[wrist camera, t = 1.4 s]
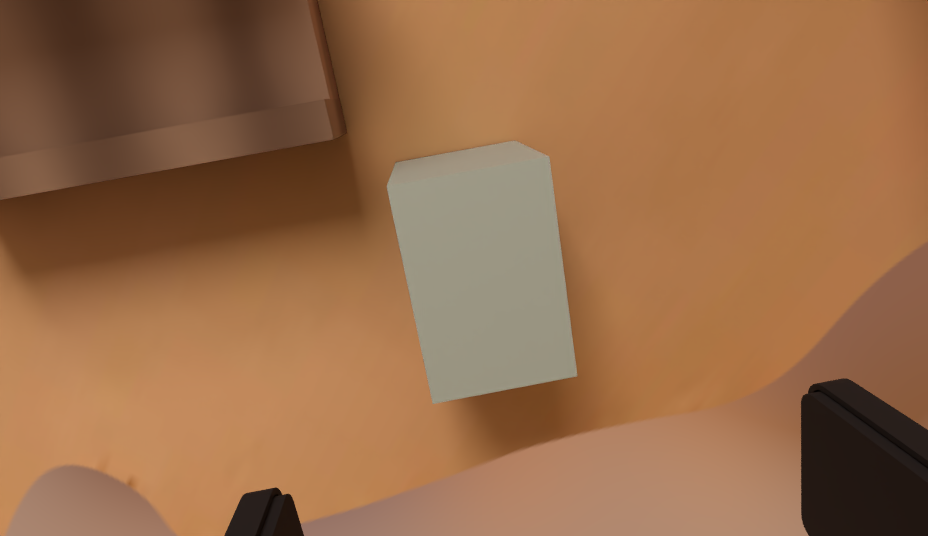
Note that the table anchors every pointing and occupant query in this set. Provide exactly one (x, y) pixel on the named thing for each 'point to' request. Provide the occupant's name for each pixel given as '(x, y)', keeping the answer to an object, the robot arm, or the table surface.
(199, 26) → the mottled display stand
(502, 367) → the mini block
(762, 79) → the table surface
